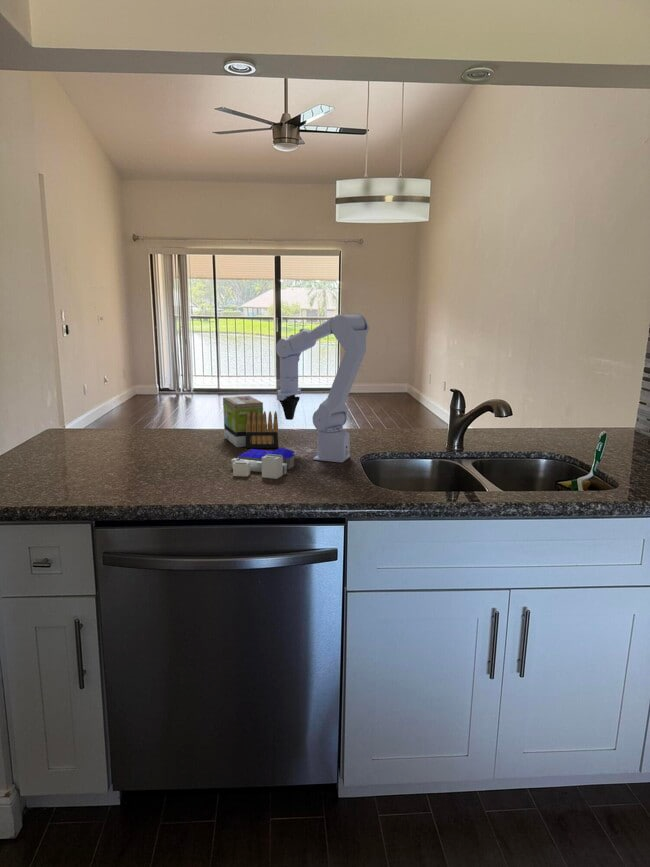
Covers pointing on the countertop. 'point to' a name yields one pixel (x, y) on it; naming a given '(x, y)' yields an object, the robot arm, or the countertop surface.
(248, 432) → the ammunition clip
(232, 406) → the tea box
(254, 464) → the rail
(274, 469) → the block
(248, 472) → the block
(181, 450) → the countertop surface
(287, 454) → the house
